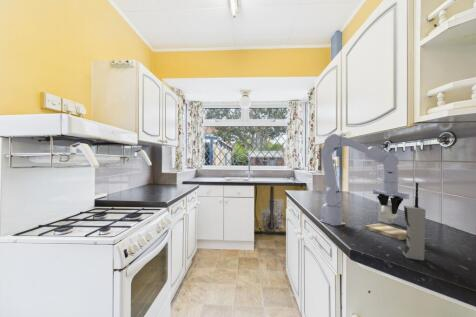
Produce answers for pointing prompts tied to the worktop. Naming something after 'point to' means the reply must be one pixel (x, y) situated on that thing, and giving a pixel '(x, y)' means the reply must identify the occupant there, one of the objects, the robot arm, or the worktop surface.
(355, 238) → the worktop surface
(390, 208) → the capped bottle
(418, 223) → the vintage mobile phone
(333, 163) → the robot arm
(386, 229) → the birch board
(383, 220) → the skincare box
